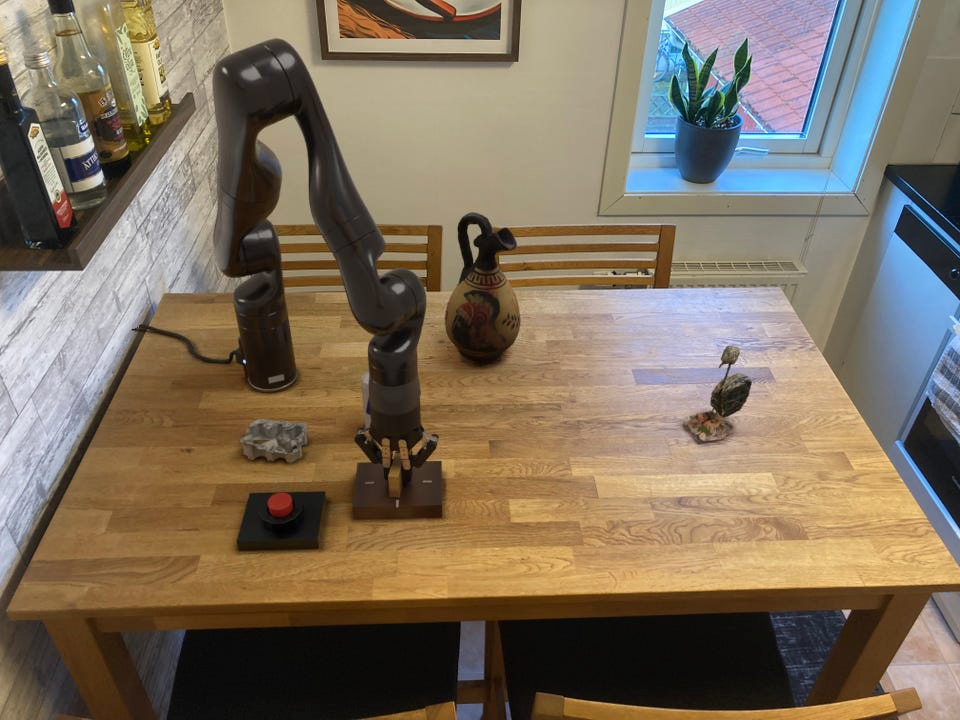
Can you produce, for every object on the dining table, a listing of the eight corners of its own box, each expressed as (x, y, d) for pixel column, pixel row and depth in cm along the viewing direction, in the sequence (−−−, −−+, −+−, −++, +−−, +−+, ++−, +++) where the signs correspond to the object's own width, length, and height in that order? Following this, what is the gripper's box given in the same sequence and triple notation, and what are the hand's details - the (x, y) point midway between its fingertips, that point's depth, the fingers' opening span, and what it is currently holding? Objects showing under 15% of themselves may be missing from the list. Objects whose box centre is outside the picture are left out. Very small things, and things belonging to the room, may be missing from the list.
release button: (267, 518, 115) (265, 510, 114) (271, 500, 118) (269, 492, 117) (291, 517, 115) (289, 509, 114) (294, 500, 118) (293, 492, 117)
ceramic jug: (532, 346, 160) (542, 215, 142) (494, 383, 149) (499, 246, 131) (465, 321, 167) (466, 194, 149) (424, 355, 156) (420, 222, 139)
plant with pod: (752, 437, 137) (779, 347, 125) (694, 446, 135) (717, 355, 123) (730, 409, 144) (754, 321, 132) (675, 417, 141) (695, 328, 130)
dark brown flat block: (353, 521, 119) (351, 507, 117) (359, 473, 128) (357, 460, 126) (442, 519, 120) (442, 505, 118) (441, 472, 129) (441, 458, 127)
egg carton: (238, 459, 130) (234, 442, 128) (255, 431, 136) (251, 413, 134) (298, 466, 129) (295, 448, 127) (312, 436, 135) (309, 419, 133)
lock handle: (399, 497, 119) (398, 476, 117) (389, 496, 120) (387, 475, 117) (407, 469, 125) (406, 447, 122) (397, 468, 125) (396, 446, 122)
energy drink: (390, 441, 135) (386, 388, 127) (361, 437, 135) (356, 384, 128) (398, 422, 139) (395, 369, 132) (370, 418, 140) (366, 365, 133)
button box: (238, 551, 114) (234, 533, 112) (251, 502, 122) (247, 484, 120) (319, 549, 115) (316, 531, 112) (326, 500, 123) (324, 482, 120)
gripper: (342, 408, 110) (351, 493, 120) (436, 416, 109) (437, 501, 119) (355, 377, 116) (362, 461, 126) (444, 385, 115) (444, 468, 125)
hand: (398, 480), depth 122 cm, fingers closed on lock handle, 2 cm apart
